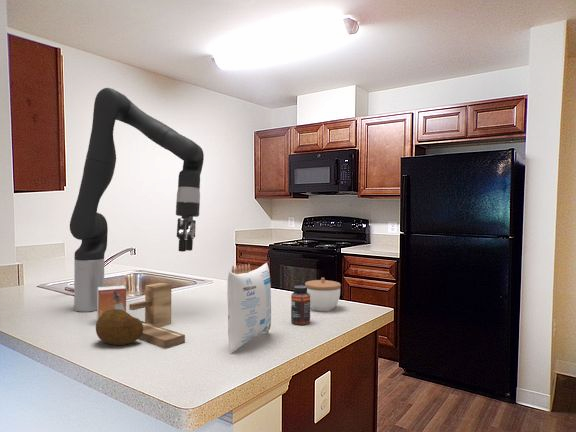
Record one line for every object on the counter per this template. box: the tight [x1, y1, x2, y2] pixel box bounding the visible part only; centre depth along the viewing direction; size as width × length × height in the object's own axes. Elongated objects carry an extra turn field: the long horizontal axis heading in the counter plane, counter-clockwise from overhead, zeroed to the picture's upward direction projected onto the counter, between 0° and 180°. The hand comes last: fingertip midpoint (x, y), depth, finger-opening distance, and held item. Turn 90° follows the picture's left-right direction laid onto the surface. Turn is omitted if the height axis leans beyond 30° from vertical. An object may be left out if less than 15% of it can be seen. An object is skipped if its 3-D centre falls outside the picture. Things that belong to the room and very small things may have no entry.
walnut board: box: [137, 320, 186, 350], centre depth 110 cm, size 26×6×2 cm, turn 53°
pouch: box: [227, 262, 272, 354], centre depth 105 cm, size 8×19×20 cm, turn 151°
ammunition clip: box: [231, 263, 252, 274], centre depth 165 cm, size 11×2×12 cm, turn 138°
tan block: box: [128, 282, 172, 327], centre depth 117 cm, size 4×12×12 cm, turn 143°
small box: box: [96, 284, 127, 322], centre depth 123 cm, size 8×6×10 cm
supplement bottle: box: [290, 285, 311, 326], centre depth 123 cm, size 6×6×11 cm
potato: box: [95, 309, 143, 346], centre depth 103 cm, size 8×12×9 cm
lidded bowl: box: [304, 277, 342, 312], centre depth 141 cm, size 13×13×11 cm
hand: (185, 250), depth 130 cm, fingers open, 8 cm apart
